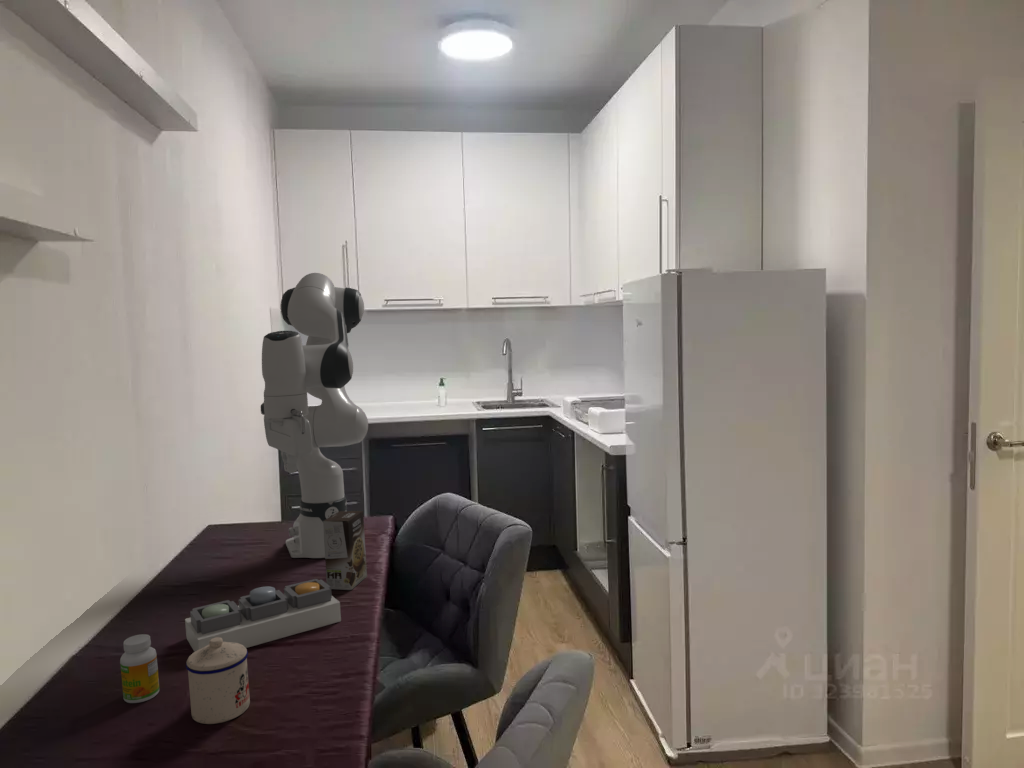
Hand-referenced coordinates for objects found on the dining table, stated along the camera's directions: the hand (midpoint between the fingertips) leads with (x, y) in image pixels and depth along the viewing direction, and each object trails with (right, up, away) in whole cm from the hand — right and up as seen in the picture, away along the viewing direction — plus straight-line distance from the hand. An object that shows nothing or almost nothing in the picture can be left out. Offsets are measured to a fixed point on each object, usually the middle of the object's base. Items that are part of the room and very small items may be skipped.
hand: (290, 471), depth 155 cm
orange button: (+5, -25, -6) cm, 26 cm away
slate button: (-2, -24, -11) cm, 27 cm away
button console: (-2, -30, -10) cm, 32 cm away
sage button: (-9, -26, -16) cm, 32 cm away
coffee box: (+9, -28, +14) cm, 32 cm away
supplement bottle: (-14, -33, -35) cm, 50 cm away
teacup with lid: (+1, -33, -39) cm, 51 cm away
